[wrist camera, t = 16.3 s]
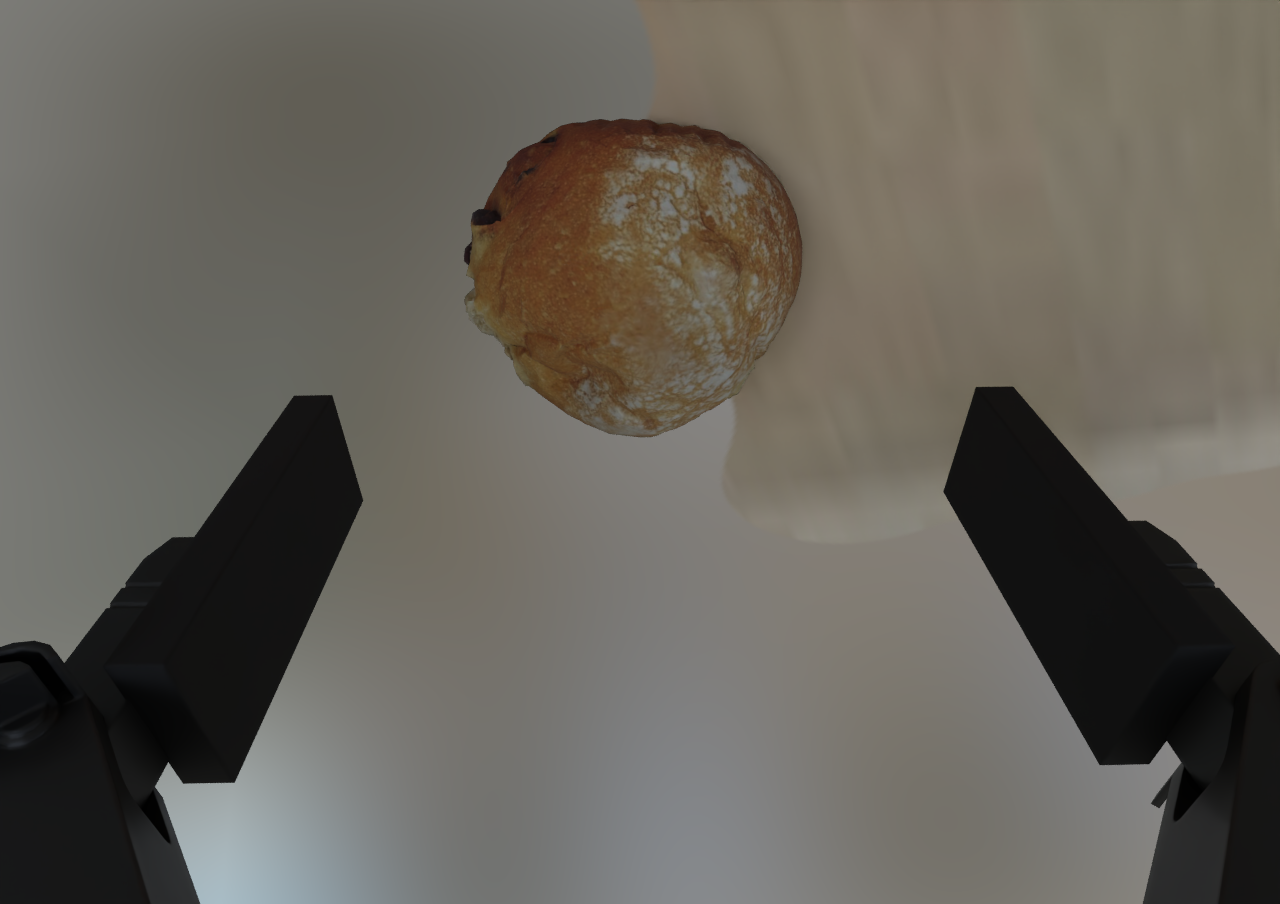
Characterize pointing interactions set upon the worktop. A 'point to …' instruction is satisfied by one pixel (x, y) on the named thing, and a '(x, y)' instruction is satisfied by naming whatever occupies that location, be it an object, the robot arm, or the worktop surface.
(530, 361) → the bread roll
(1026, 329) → the worktop surface
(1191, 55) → the worktop surface
